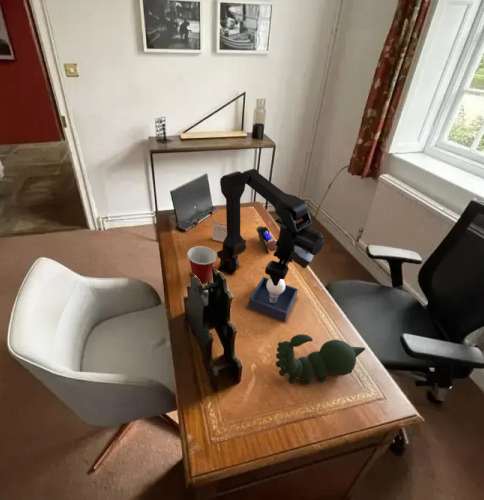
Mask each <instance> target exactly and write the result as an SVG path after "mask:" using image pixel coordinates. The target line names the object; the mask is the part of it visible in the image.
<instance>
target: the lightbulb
mask: <svg viewBox="0 0 484 500" xmlns="http://www.w3.org/2000/svg"><path fill="white" fill-rule="evenodd" d="M268 279H269V280H268V281H267V285H266V286H267V290H268V291H269V294H270V298H269V301H270V302H271V303H276V302H277V298H278V296H279V295H280V294H281V293H283V292H284V290H285V286H286V285H287V284H286V282H285V279H280V281H279V283H278V285H277V286H275V285H273V282H272V280H271V278H270V277H269V278H268Z"/></svg>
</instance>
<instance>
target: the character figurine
mask: <svg viewBox="0 0 484 500" xmlns="http://www.w3.org/2000/svg"><path fill="white" fill-rule="evenodd" d="M256 232H257V234H258V238H259V242H260V243H261V245H262V247H263V249H264V251H265V252H266V254H269V251H270V252H275V251H276V248H277V246H276V242H277V240H276V239H274V238H273V237H272V236H271V235H272V234H271V233H270V232H271V231H270V229H269V228H268V227H267V226H258V227H256Z"/></svg>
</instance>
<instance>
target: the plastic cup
mask: <svg viewBox="0 0 484 500" xmlns="http://www.w3.org/2000/svg"><path fill="white" fill-rule="evenodd" d="M186 255H187V258H188V261H189V265H190V270H191V274H192V273H194V274H195V275H196V276H197V277H198V278H199V279H200V281H201V283H202V285H204V284H206V283H208V282H209V280H210V277H211V274H212V270H213V266H214V263H215V261H217V258H218V256H217V251H215V250H214V249H213V248H211V247H208V246H203V245H202V246H201V245H197V246H193V247H191V248H189V249H188V251H187V254H186Z"/></svg>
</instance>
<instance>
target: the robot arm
mask: <svg viewBox="0 0 484 500" xmlns="http://www.w3.org/2000/svg"><path fill="white" fill-rule="evenodd" d="M219 185H220V191H221V194H222V195H223V197H224V199H225V213H226V215H225V216H226V224H227V227H226V228H227V236H226V238H225V240H224V242H222V248H221V249H220V250H218V251H216V254H217V258H218V259H219V261H220V262H219V267H217V270H218V271H221V272H223V273H226V274H229V275H231V276H233V275H234V274H235V272H237V270H238V269H239V267H240V265H239V264H240V259H239V256H241V255H243V253H245V251H246V250H247V240H246V239H244V238H243V237H242V235H241V198H242V196H243V194H244V192H245V190H246V185H247V186H249V188H251V189H252V190H253V191H254V192H256V193H257V194H258V195H259V196H261V197H262V198H263V199H264V200H265V201H267V202H268V203H269V204H270V205H271V206H272V207H273V208H274V210H275V213H276V215H277V216H278V218H276V219H275V220H274V221H275V223H277V224H279V225H280V226H279V232H278V239H277V240H276V241H277V242H276V246H277V248H276V250H275V251H274V252H273V256H274V257H276V258H277V259H279V260H278V261H276V260H270V261H269V262H268V263H267V265H266V266H265V269H264V273H265V275H267V276H269V279H270V278H271V280H272V282H273V285H275V286H277V285H278V283H279V281H280V279H283V280H285V279H286V277H287V275H288V273H289V269H290V268H289V267H288V266H289V264H290V263H291V264H292V263H293V262H294V263H295V264H297V265H299V266H300V267H301V268H302V269H306V268H307V267H308V266H309V265H310V264H311V263H312V261H313V259H314V256H316V255H317V254H319V252H320V251H321V250H322V248H323V247H324V244H325V238H324V236H323V232H321V231H318V230H316V229H313V228H312V227H310V226H312V225H313V221H312V218H311V215H310V213H309V209H308V204H307V202H306V201H305V200H303V199H302V198H300V197H298V196H296V195H293V194H291V193H287V192H284V191H283V190H282V189H280V188H279V187H277V186H276V185H275V184H274V183H272V182H271V181H270V180H269V179H268V178H266V177H265V176H263V175H262V174H261V173H260V172H259V171H258V169H256V168H251V169H247V170H244V171H243V172H241V171H239V170H237V171H234V172H231V173H227V174H225V175H222V176H221V178H220V179H219ZM301 219H302V220H301ZM299 220H301V221H299ZM297 221H299V222H297Z"/></svg>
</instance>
